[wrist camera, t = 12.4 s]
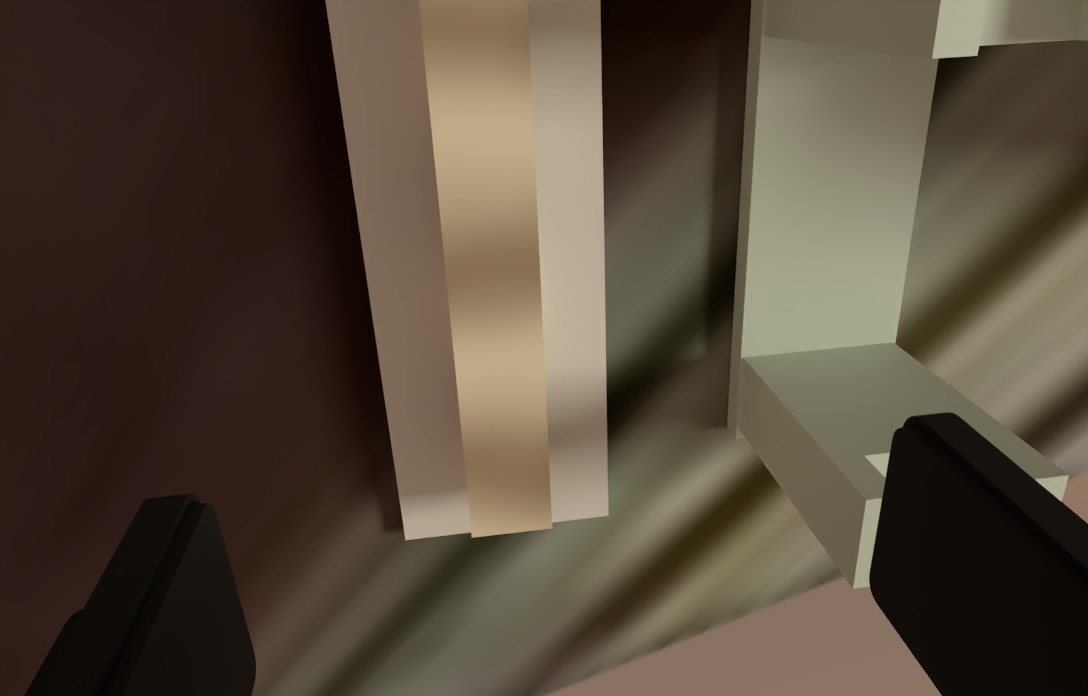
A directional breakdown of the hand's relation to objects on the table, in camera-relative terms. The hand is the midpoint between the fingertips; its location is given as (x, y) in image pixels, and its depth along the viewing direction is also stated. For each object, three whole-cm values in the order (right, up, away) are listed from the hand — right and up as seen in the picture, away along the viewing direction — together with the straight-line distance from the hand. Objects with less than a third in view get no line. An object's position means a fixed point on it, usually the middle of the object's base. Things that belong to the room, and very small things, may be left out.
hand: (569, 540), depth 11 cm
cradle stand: (+9, +8, +17) cm, 21 cm away
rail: (-2, +7, +15) cm, 17 cm away
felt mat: (-2, +7, +16) cm, 17 cm away
